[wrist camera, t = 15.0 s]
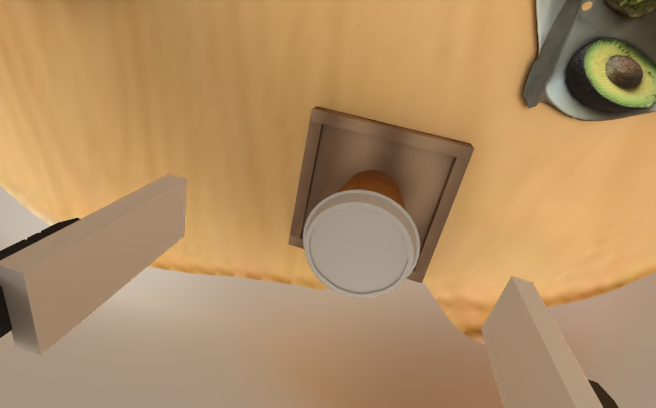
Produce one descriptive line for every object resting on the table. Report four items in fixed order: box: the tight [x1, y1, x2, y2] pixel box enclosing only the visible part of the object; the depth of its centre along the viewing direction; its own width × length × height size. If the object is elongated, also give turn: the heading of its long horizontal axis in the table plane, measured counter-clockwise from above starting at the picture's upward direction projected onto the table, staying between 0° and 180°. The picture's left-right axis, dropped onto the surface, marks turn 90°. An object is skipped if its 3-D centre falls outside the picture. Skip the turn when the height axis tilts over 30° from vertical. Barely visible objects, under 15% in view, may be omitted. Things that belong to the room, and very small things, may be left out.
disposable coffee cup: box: [303, 170, 420, 298], centre depth 32 cm, size 10×10×12 cm
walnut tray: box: [289, 107, 474, 283], centre depth 37 cm, size 16×16×2 cm
